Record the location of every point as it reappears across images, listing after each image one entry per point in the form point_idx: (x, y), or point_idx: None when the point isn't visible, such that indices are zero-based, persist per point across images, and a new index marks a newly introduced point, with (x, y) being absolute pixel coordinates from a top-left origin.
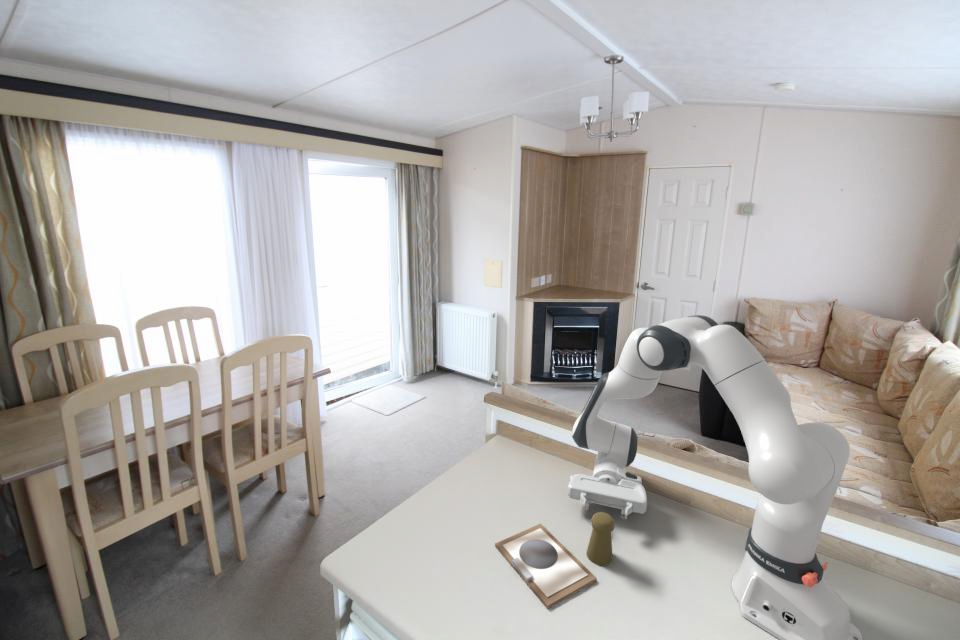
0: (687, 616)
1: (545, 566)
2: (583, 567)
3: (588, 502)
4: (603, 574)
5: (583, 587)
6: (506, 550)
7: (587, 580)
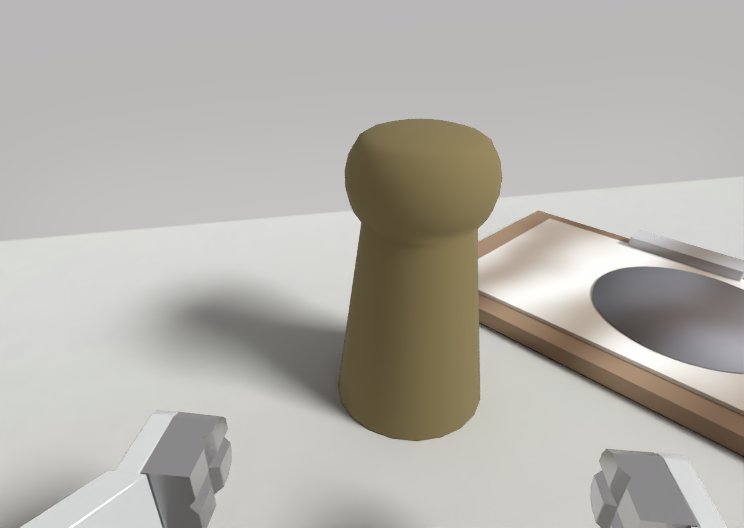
0: (127, 250)
1: (617, 275)
2: None
3: (636, 488)
4: None
5: None
6: None
7: None
